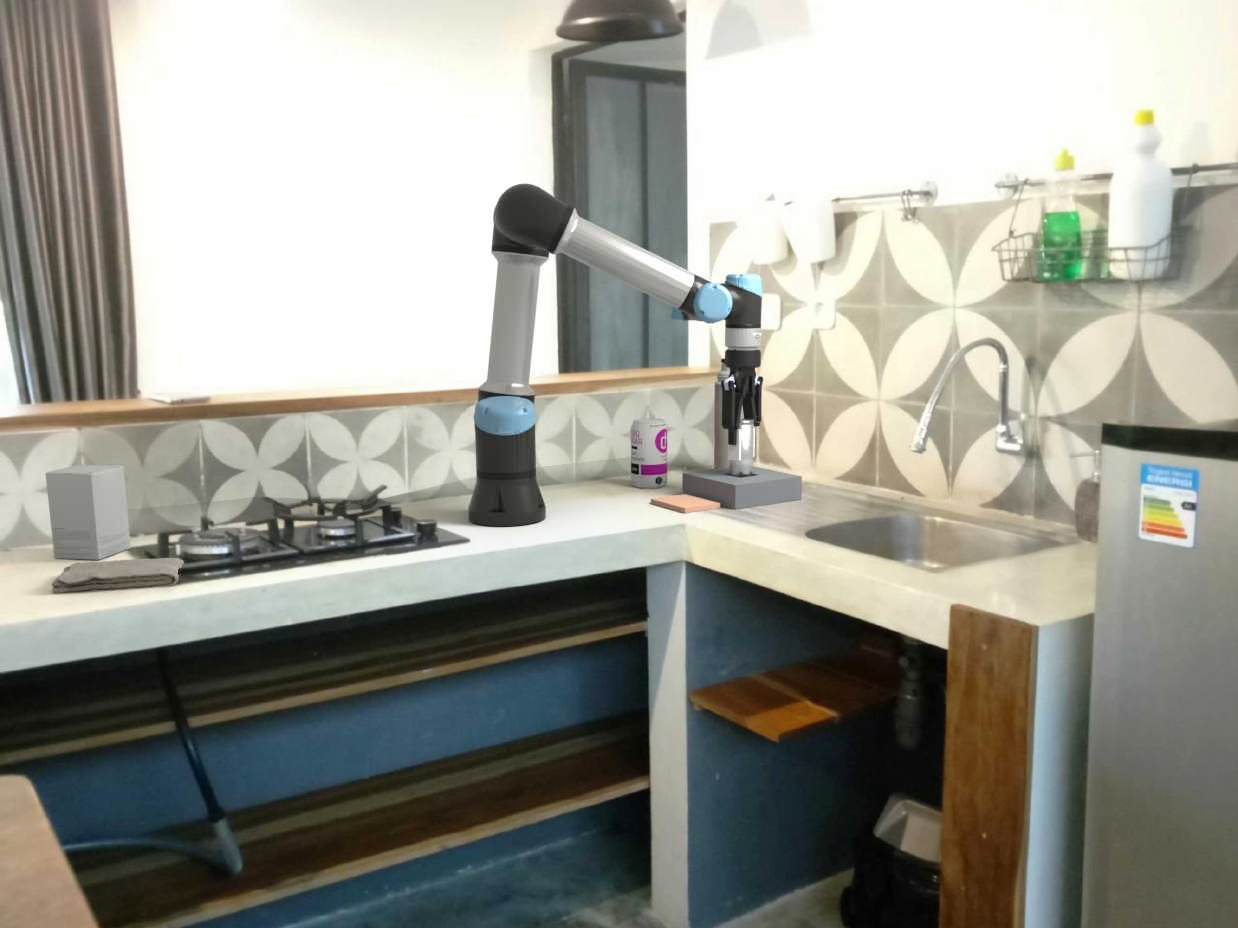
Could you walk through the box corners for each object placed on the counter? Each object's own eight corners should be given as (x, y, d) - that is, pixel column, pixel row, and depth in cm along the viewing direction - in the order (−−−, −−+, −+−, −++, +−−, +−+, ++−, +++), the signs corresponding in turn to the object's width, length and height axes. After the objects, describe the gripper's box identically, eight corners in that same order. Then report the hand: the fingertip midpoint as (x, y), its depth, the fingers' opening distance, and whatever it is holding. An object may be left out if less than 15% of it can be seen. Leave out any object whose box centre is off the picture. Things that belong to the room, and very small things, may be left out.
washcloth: (66, 578, 174) (65, 559, 174) (186, 570, 179) (185, 551, 178) (49, 598, 163) (47, 578, 162) (178, 589, 168) (176, 569, 167)
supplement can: (673, 484, 249) (673, 419, 247) (655, 490, 242) (655, 423, 240) (643, 481, 254) (642, 417, 251) (624, 486, 247) (624, 421, 244)
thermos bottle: (750, 473, 262) (751, 357, 258) (744, 479, 255) (745, 359, 250) (717, 472, 265) (718, 357, 260) (710, 478, 257) (711, 359, 252)
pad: (684, 513, 218) (684, 508, 218) (650, 503, 228) (650, 498, 228) (720, 507, 223) (720, 503, 223) (685, 498, 233) (685, 494, 232)
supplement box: (133, 548, 192) (126, 464, 189) (99, 561, 183) (91, 473, 181) (87, 546, 194) (80, 463, 191) (52, 558, 185) (43, 471, 182)
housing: (735, 509, 221) (735, 485, 220) (682, 495, 236) (682, 472, 235) (801, 499, 231) (801, 476, 230) (746, 486, 246) (746, 464, 245)
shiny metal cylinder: (744, 497, 230) (746, 421, 227) (724, 494, 233) (725, 420, 230) (756, 493, 234) (758, 419, 231) (736, 490, 237) (737, 417, 234)
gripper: (735, 351, 219) (734, 465, 223) (779, 347, 233) (777, 454, 237) (704, 350, 223) (703, 462, 227) (749, 346, 238) (747, 451, 241)
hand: (741, 458), depth 232 cm, fingers closed on shiny metal cylinder, 5 cm apart
